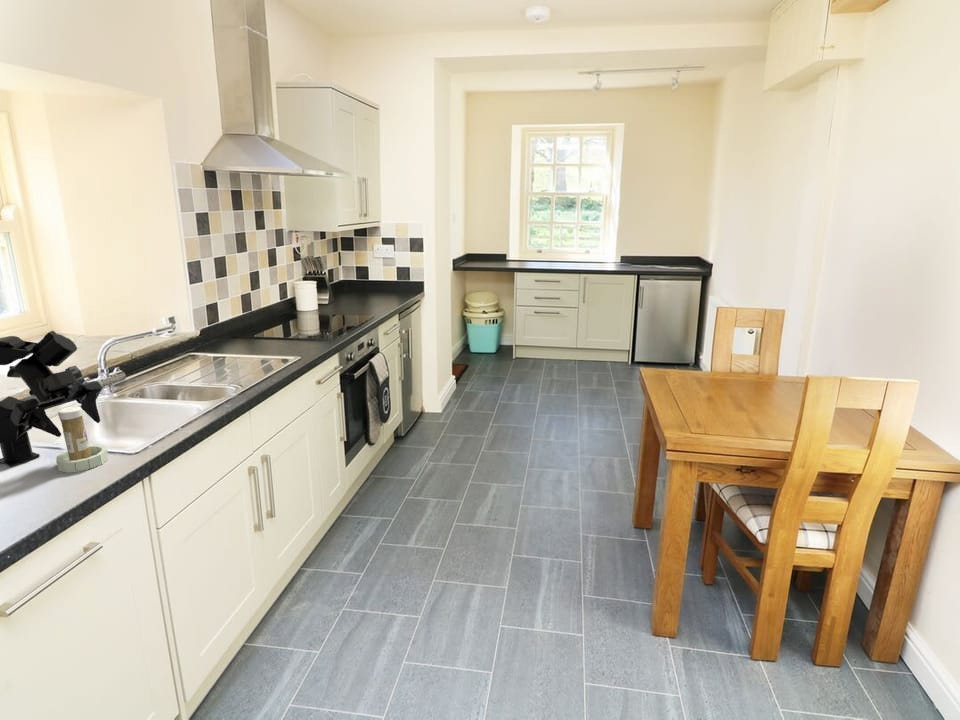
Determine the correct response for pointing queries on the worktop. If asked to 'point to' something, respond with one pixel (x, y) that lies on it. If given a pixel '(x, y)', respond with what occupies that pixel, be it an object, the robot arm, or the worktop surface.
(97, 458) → the dish
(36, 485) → the worktop surface
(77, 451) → the sprinkles bottle
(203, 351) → the worktop surface
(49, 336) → the robot arm
